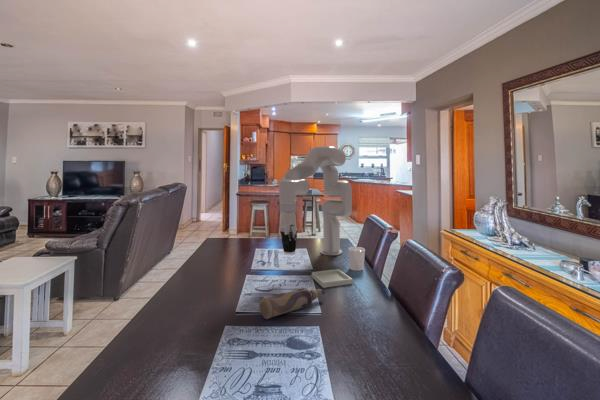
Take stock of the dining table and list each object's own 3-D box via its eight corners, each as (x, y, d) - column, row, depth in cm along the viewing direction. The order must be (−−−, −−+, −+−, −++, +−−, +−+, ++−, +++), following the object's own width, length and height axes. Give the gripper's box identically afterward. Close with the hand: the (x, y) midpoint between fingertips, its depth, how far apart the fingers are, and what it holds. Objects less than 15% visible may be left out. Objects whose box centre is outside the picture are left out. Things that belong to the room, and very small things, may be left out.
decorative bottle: (269, 324, 93) (268, 303, 92) (258, 314, 99) (258, 295, 99) (331, 303, 107) (331, 285, 107) (319, 296, 114) (318, 279, 113)
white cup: (363, 266, 148) (363, 246, 147) (365, 271, 141) (365, 251, 140) (347, 265, 149) (348, 246, 148) (349, 271, 141) (349, 250, 140)
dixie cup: (284, 256, 128) (283, 231, 126) (278, 251, 135) (277, 228, 134) (301, 253, 131) (300, 229, 129) (294, 249, 138) (293, 226, 137)
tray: (311, 276, 134) (311, 272, 134) (338, 273, 138) (338, 269, 138) (323, 287, 121) (323, 282, 121) (352, 283, 126) (352, 278, 125)
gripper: (275, 206, 137) (276, 242, 140) (285, 211, 121) (286, 252, 123) (290, 204, 140) (291, 240, 142) (302, 210, 123) (303, 250, 125)
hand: (289, 246), depth 132 cm, fingers closed on dixie cup, 8 cm apart
